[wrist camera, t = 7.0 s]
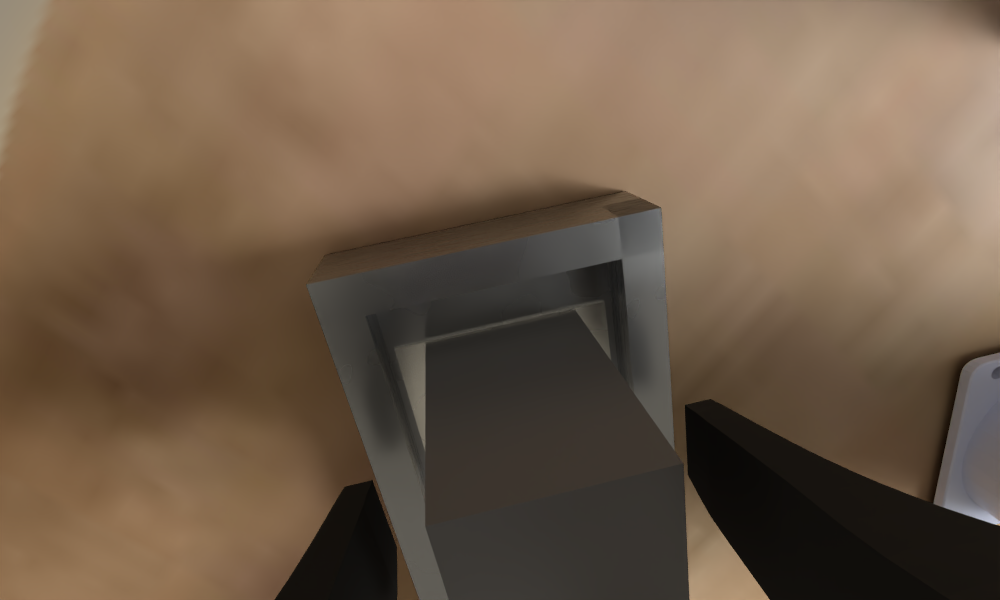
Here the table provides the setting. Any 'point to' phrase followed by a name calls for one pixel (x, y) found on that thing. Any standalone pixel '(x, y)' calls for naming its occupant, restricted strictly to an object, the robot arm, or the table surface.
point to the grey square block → (547, 471)
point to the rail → (486, 324)
